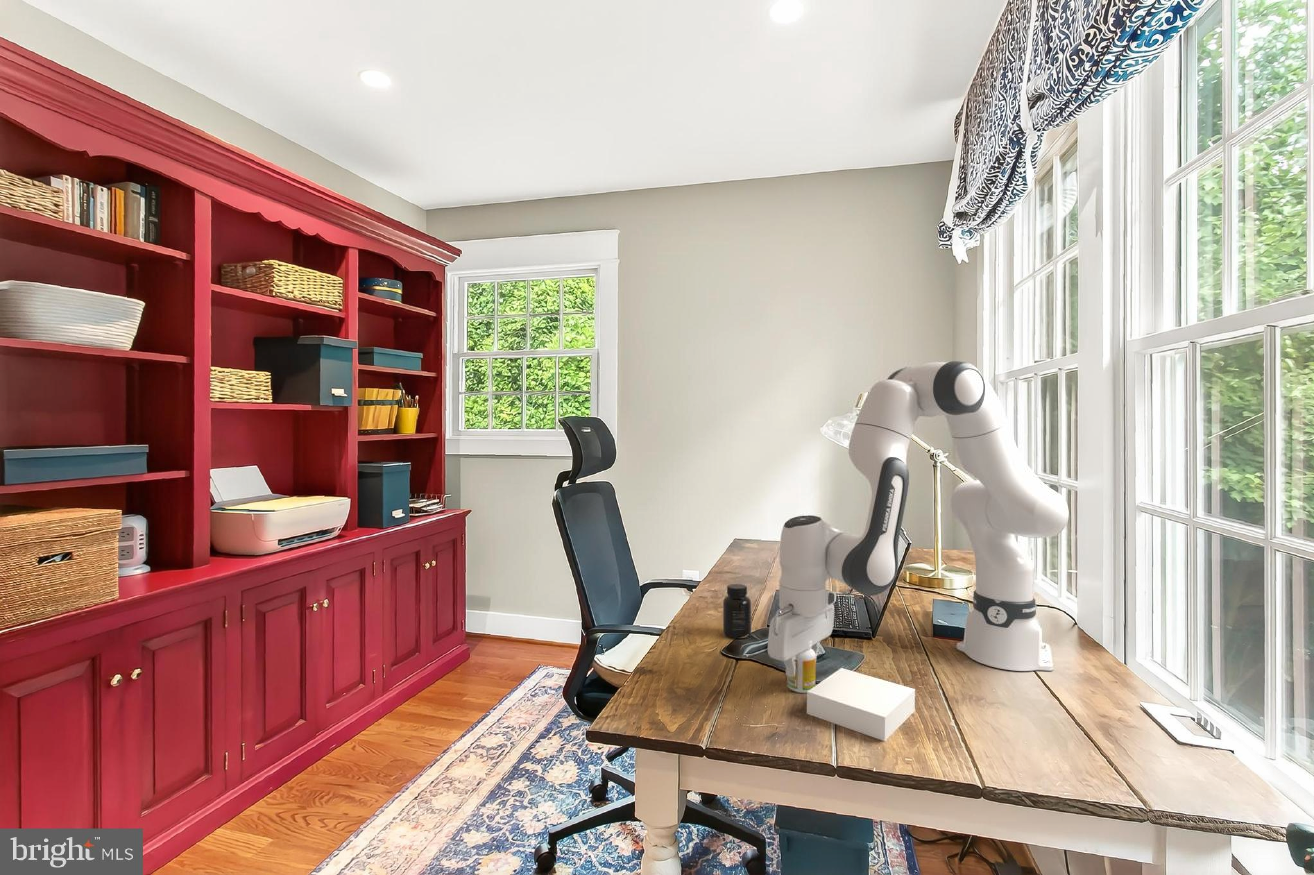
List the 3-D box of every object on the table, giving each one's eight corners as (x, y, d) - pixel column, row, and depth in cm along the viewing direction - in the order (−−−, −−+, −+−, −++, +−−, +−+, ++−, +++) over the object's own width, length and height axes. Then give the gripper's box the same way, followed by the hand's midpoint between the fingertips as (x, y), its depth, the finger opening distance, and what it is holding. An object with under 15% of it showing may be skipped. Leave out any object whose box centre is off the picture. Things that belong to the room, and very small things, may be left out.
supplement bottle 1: (755, 633, 150) (756, 585, 149) (744, 641, 144) (744, 591, 144) (730, 628, 153) (730, 581, 153) (718, 636, 148) (718, 587, 147)
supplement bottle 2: (816, 683, 121) (816, 635, 121) (814, 695, 116) (814, 645, 116) (788, 680, 123) (789, 632, 123) (785, 691, 118) (785, 641, 118)
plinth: (841, 688, 119) (841, 667, 119) (914, 710, 110) (915, 689, 110) (806, 713, 109) (807, 691, 109) (884, 741, 99) (885, 717, 99)
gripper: (789, 615, 109) (789, 691, 109) (840, 591, 124) (839, 658, 125) (759, 608, 113) (759, 681, 114) (811, 586, 129) (811, 650, 129)
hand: (801, 669), depth 119 cm, fingers open, 6 cm apart
